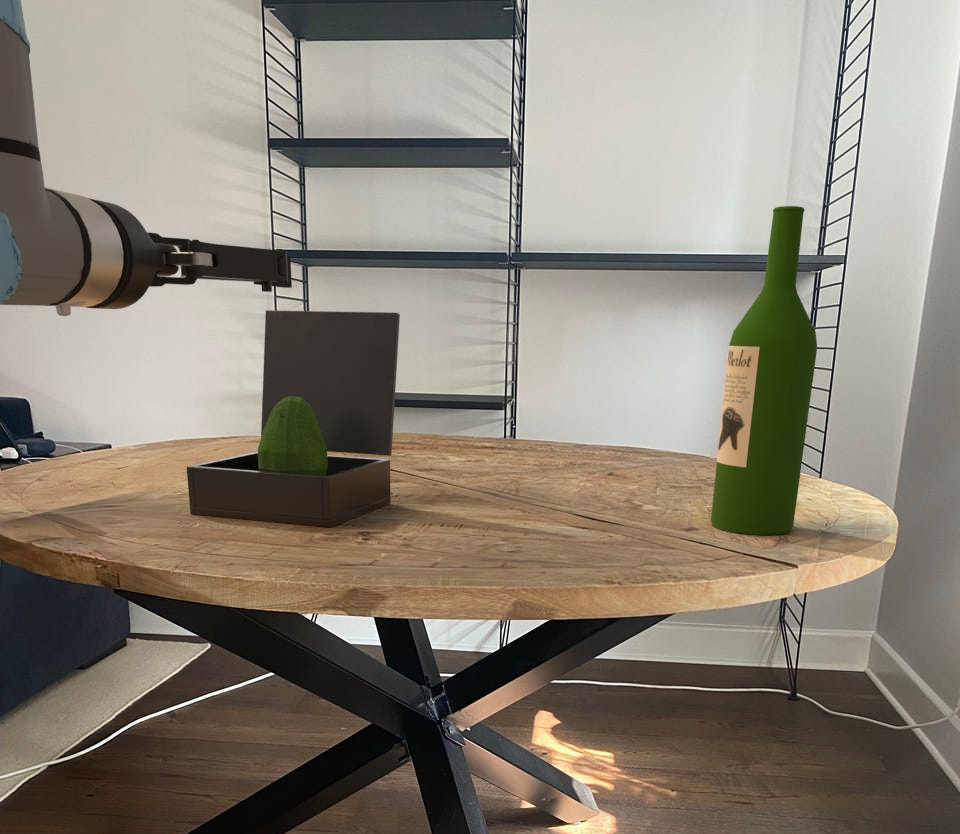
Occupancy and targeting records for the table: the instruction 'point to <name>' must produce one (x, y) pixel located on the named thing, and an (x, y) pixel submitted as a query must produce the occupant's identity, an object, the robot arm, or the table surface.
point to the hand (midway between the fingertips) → (219, 271)
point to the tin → (289, 491)
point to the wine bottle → (767, 397)
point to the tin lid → (335, 373)
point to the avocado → (292, 440)
